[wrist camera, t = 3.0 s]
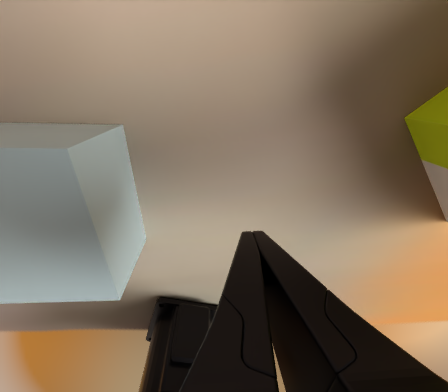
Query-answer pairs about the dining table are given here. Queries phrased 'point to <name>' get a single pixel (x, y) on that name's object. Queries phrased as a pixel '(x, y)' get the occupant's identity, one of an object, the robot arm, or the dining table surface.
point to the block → (66, 213)
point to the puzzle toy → (433, 143)
